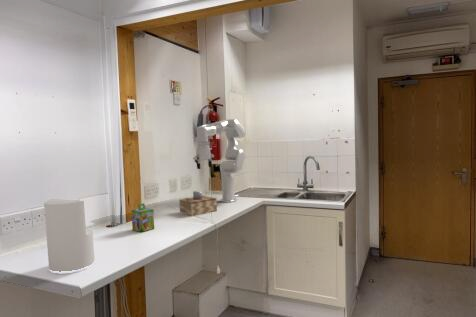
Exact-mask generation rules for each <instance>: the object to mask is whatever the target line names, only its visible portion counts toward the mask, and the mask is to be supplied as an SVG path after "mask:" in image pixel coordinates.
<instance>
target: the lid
mask: <svg viewBox="0 0 476 317" xmlns="http://www.w3.org/2000/svg"><path fill="white" fill-rule="evenodd" d="M211 200H216V201H217V197H213V196H209V195H204V194H202V199H198V200H195V199H193V196H190V197H184V198H179V199H178V201H182V202H186V203H190V204H195V203H200V202H206V201H211Z"/></svg>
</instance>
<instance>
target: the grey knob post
mask: <svg viewBox="0 0 476 317" xmlns="http://www.w3.org/2000/svg"><path fill="white" fill-rule="evenodd" d="M192 193H193V195H192V197H193V199H195V200H198V199H202V195H203V192H202V190H194V191H192Z"/></svg>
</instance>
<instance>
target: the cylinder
mask: <svg viewBox="0 0 476 317" xmlns="http://www.w3.org/2000/svg"><path fill="white" fill-rule="evenodd" d="M43 206H44V207H43V208H44V218H45V219H44V220H45V231H46V235H45V236H46V245H47V257H48V258H47V260H48V270H49V269H50V270H52V271H59V272H61V271H72V270H78V269H81V268H84V267H86V266H89V265H91V264H92V263H93V262H94V260H96V259H95V246H94V233H93V232H94V231H93V229H91V228H87V227H86V213H85V212H86V211H85V200H76V199H75V200H74V199H73V200H70V199H47V200H45V201H44V202H43Z"/></svg>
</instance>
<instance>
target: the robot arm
mask: <svg viewBox="0 0 476 317" xmlns="http://www.w3.org/2000/svg"><path fill="white" fill-rule="evenodd" d="M224 132H225V136H226V139H227V147H226V150H225V153H224V154H225V155H224V158H225V160H224V161H221V163H220V164H219V170H220V177H221V195H222V198H221V199H220V202H221V203H232V202H237V198H239V197H240V195H239V194H235V181H234V180H235V178H234V176H233V174H239V173H241V171H242V168H243V164H244V161H245V151H244V150H243V149H241V148H239V143H238V141H237V139H241V138H245V136H246V129H245V128H244V126H243V125H242V124H241V123H240V122H239V121H238V120H237V119H235V118H232V119H231V118H229V119H223V120H221V121H215V122H212V123H207V124H203V125H199V126H197V127H196V140H197V142H196V143H197V145H196V149H195V156H194V157H192V159H193V161H194V162H195V163H196V168H197V170H200V169H201V161H207V165H208V167H209V168H212V166H213V163H212V162H213V160H214V157H215V155H214V153H211V149H210V148H211V147H210V145H209V144H210V141H209V140H208V139H209V137H213V136H215V135H216V134H220V133H224Z"/></svg>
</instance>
